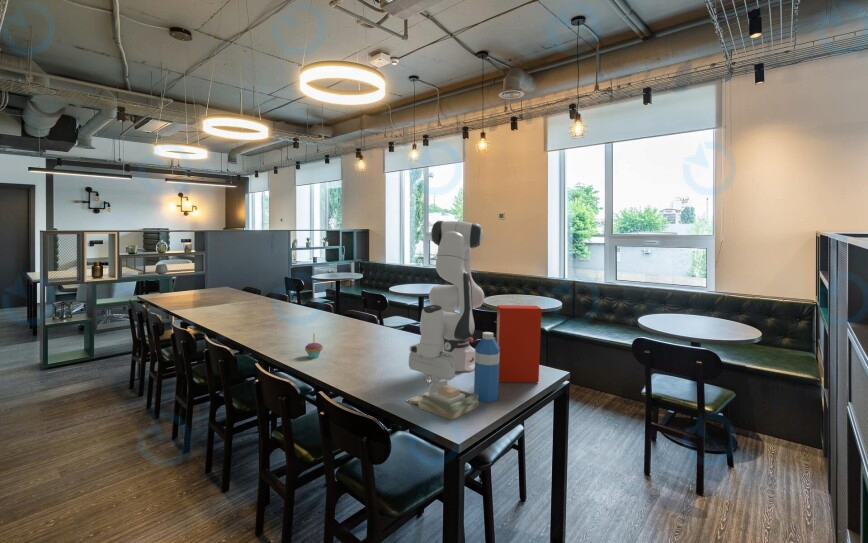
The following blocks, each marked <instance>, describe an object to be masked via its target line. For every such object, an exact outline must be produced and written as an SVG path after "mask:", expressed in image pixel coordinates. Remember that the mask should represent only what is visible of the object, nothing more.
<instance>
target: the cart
mask: <svg viewBox="0 0 868 543" xmlns="http://www.w3.org/2000/svg"><path fill="white" fill-rule="evenodd" d="M428 390H429V391H428V392H429V397H432V398H435V399H437V400H440V401H443V402H446V403H449V404H450V405H451V404H454V403H456V402H458V401H460V400H462V399H465V394H462V393H460V390H461V389H460V388H458V387H454V386H452V385H449V384H448V380H445V379H441V380H438V381H436V382H434V383H431V384H429V387H428Z"/></svg>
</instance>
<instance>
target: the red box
mask: <svg viewBox="0 0 868 543" xmlns="http://www.w3.org/2000/svg"><path fill="white" fill-rule="evenodd" d="M542 311H543V310H542V308H541V307H539V306H538V305H510V304H509V305H508V304H497V306H496V334H495V336H496V338H495V341H496V343H497V344H498V346H499V347H500V357H499V382H540V381H539V377H540V354H541V336H542V334H541V333H542V332H541V330H542Z"/></svg>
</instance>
